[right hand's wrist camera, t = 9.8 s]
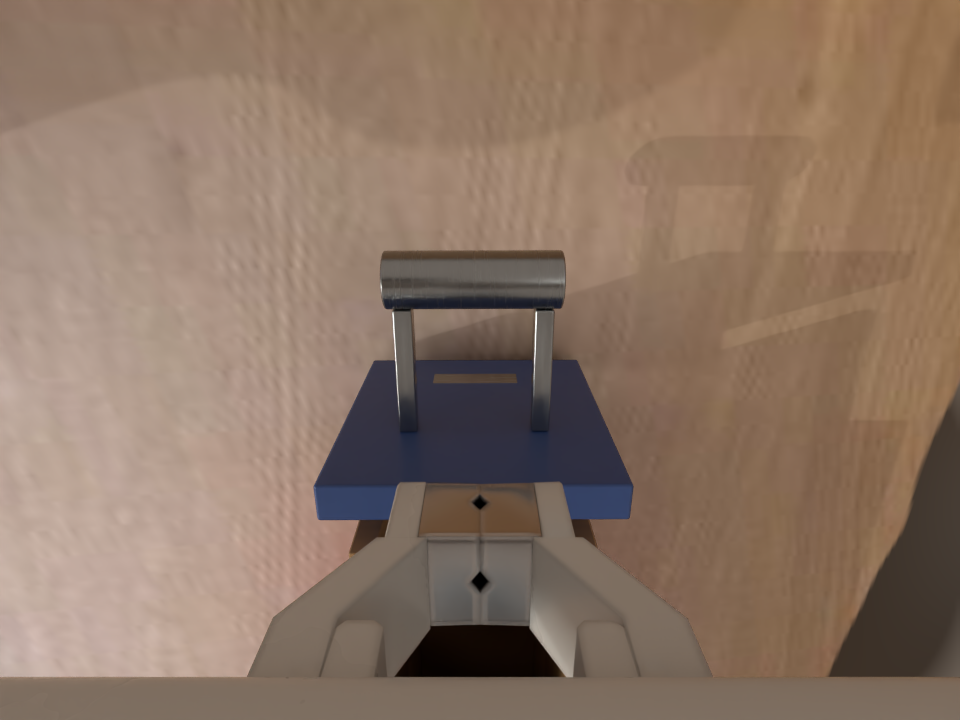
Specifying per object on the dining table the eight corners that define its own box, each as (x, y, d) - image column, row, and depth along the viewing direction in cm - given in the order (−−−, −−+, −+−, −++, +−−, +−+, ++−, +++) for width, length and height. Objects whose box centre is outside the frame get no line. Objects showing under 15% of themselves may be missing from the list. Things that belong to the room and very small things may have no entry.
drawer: (363, 222, 23) (284, 277, 14) (586, 222, 23) (658, 275, 14) (398, 684, 32) (366, 900, 23) (556, 683, 32) (587, 899, 23)
